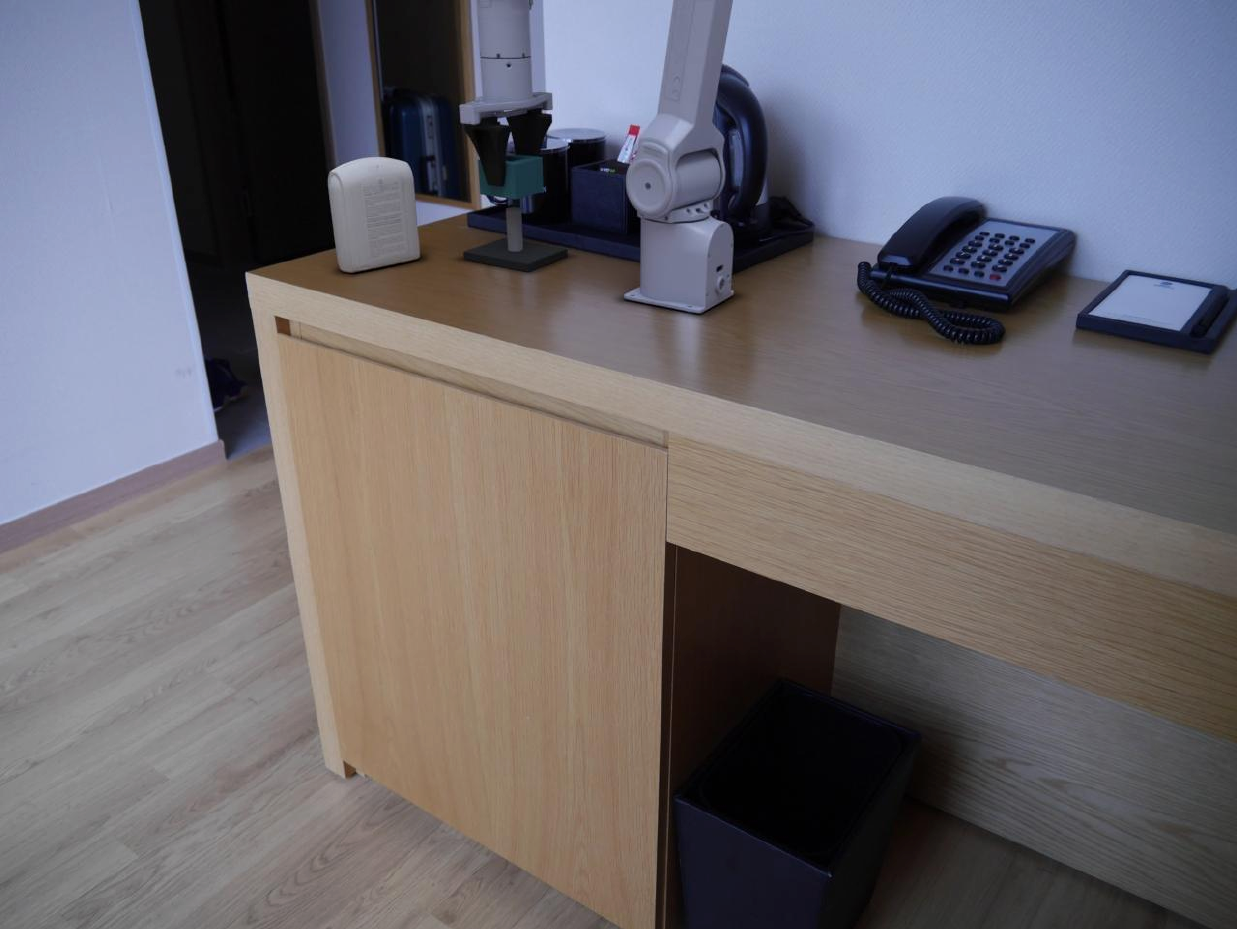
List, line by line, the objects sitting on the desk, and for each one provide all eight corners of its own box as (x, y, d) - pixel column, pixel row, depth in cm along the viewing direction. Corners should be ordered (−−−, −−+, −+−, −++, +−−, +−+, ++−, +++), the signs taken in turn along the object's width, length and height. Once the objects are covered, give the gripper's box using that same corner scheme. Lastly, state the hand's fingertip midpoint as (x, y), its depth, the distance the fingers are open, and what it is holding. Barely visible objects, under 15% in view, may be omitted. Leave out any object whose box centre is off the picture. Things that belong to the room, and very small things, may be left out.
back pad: (567, 256, 119) (566, 207, 116) (528, 272, 113) (526, 220, 110) (504, 245, 123) (501, 197, 121) (463, 259, 117) (459, 210, 115)
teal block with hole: (543, 191, 115) (542, 157, 113) (515, 199, 111) (514, 164, 109) (508, 186, 118) (506, 152, 116) (479, 194, 114) (477, 159, 112)
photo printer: (407, 252, 120) (396, 150, 114) (426, 259, 117) (416, 154, 112) (333, 269, 114) (317, 161, 108) (351, 276, 111) (337, 166, 105)
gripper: (517, 50, 115) (522, 167, 121) (434, 59, 104) (445, 187, 110) (565, 53, 111) (568, 173, 118) (485, 63, 101) (493, 194, 107)
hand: (512, 180), depth 114 cm, fingers closed on teal block with hole, 5 cm apart
